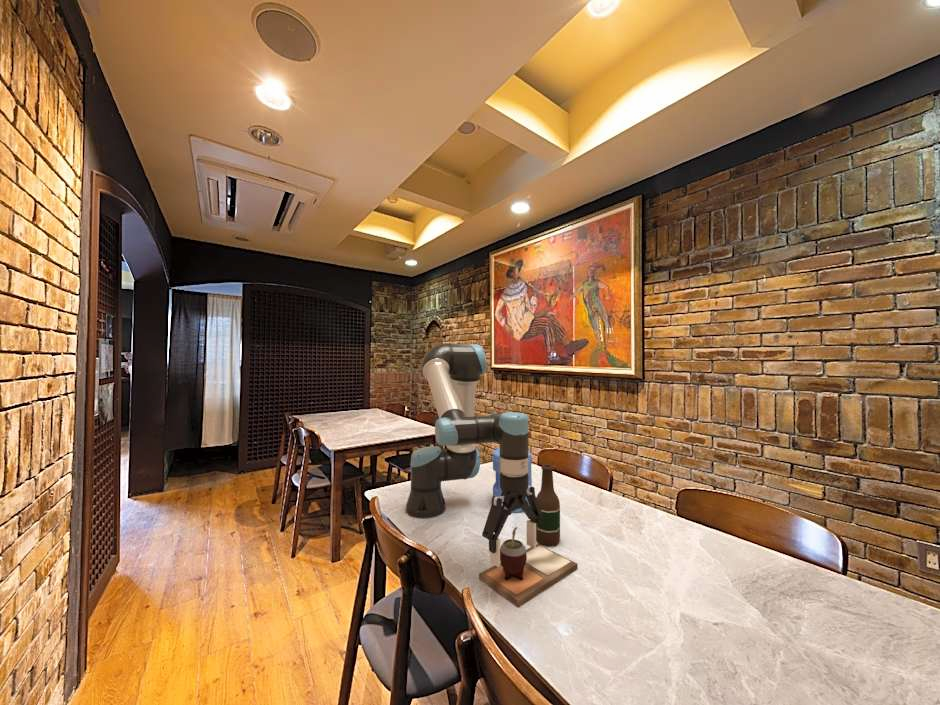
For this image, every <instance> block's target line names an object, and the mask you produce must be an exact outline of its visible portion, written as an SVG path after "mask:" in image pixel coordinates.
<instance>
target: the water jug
mask: <svg viewBox="0 0 940 705" xmlns="http://www.w3.org/2000/svg"><path fill="white" fill-rule="evenodd" d="M491 459H492V462H491V463H492V470H493V471H494V472H495V483H494V484H493V485H492V497H493V496H496V497H500V496H501V494H502V490H501V488H500V473H501V472H500V447H499V448H497V449H495V450H493V451H492V458H491ZM532 460H533V458H532V453H531V451H530V450H528V473H527V474H528V476H529V486H532V485H533V480H532V464H533V463H532V462H533V461H532ZM525 499H526V501H527V502H528V500H527V497H526V498H525ZM528 503H529V502H528ZM529 506H530V505H529ZM504 509H506V507H504ZM506 510H508V509H506ZM522 512H524V511H523V510H522V509H521V508H520V509H516V510H515V511H512V513H522Z"/></svg>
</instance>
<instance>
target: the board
mask: <svg viewBox="0 0 940 705" xmlns="http://www.w3.org/2000/svg"><path fill="white" fill-rule="evenodd" d="M525 549H526V555H527V560H526V564H525V566H524V570H523V574H522V577H523V580H522V581H521V580H519V579H517V578H516V577H511V578H510V579H508V580H505V579H504V577H506V576H505V571H503V567H502V565H501V562H500V566H499V567H497V566H495V565H493V566H491V567H489V568H487V569H485V570H483V571H480V572H479V573H478V579H479V580H480V581H481V582H482V583H483V584H485V585H486V586H488V587H489V588H491V589H492V590H494V592H496V593H498V594H499V595H500V596H501V597H503V598H505V599H506V600H508V601H509V602H511V604H513V605H514V606H516V607H517V608H520V607H521V606H523V605H524V604H526V603H527V602H529V601H530V600H532V599H534V598H535V597H537V596H539V594H541V593H543V592H544V591H547V590H548V589H549V588H551V587H552V586H554V585H556V584H557V583H559V582H560V581H562V580H563V579H565V578H566V577H568V576H569V575H571V574H572V573H574V572H576V571H577V570H578V563H577V562H575V561H573V560H571V559H570V558H567V557H565V556H564V555H561V554H559V553H557V552H555V551H553V550H551V549H549V548H548V547H546V546H543V545H540V544H539V543H536V548H532V547H530V546H529V548H525Z"/></svg>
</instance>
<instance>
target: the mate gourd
mask: <svg viewBox="0 0 940 705" xmlns="http://www.w3.org/2000/svg"><path fill="white" fill-rule="evenodd" d="M517 529H518V526H515V528H513V530H512V537H511V539H506V540H505V541H503V543H502V544H500V563H501V565H502V567H503V571H505V576H506V577H504V579H505V580H508V579H510V578H511V577H516V578H517V579H519V580H521V581H522V580H523V577H522V574H523V570H524V566H525V564H526V560H527V555H526V549H527V548H526V547H525V544H524V543H523V542H522V541H520V540H519V539H515V537H516V533H517Z"/></svg>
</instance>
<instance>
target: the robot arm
mask: <svg viewBox="0 0 940 705" xmlns="http://www.w3.org/2000/svg"><path fill="white" fill-rule="evenodd" d="M487 363H488V362H487V356H486V353H485V350H484V348H483V347H482V345H480V344H475V343H439V344H437V345H434V346H432V347H431V348H430V349H428V350H427V352H426V353H425V354H424V356H423V358H422V361H421V372H422V376H423V377H424V379H425V380H427V382H428V385H429V389H430V392H431V396H432V399H433V402H434V403H433V404H434V406H435V409H436V412H437V416H438V419H436V420H435V424H434V435H435V440H436V443H437V444H438V445H439V446H436V445H434V446H433V445H430V446H424V447H420V448H418V449H415V450H414V451H413V452H412V453H411V455H410V456H411V457H410V464H409V465H410V492H409V495H408V498H407V502H406V504H405V512H406V514H407V515H408V516H411V517H413V518H418V519H427V518H429V519H430V518H433V517H438V516H440V515H442V514H444V513H445V512H446V508H447V506H446V501H445V497H444V494H443V491H442V482H448V481H458V480H467V479H473V478H475V477H476V476H477V475H478V473H479V471H480V468H481V453H480V451H479V449H478V448H477V446H476V445H477V444H488V443H489V444H490V443H491V444H492V443H497V444H499V448H500V472H501V473H500V488H501V490H502V494H501V496H500V497H496V496H493V495H492V497H491V503H490V504H491V506H490V507H489V512H488V515H487V518H486V521H485V524H484V527H483V530H482V534H481V536H482V537H483V538H485V539H486V540H488V552H490V553H489V554H490V555H489V556H490V557H489V558H490V561H489V562H490V564H492V565H493V566H497V567H499V566H500V563H501V562H500V547H501V539H500V538H499V536H500V535H501V532H502V530H503V528H504V525H505V523H506V521H507V520H508V517H509V516H510V515H512V513H513V512H512V511H515V510H516V509H520V508H521V509H522V510H523V511H522V512H523V513H524V514H525V515H526V517H527V520H526V545H527V546H529V548H530V547H532V548H536V544H537V540H536V533H537V523H540V521H541V520H540V519H539V518H542V512H541V509H540V507H539V504H538V501H537V498H536V497H537V495H536V491H535V487H534V486H532V485H531V486H529V476H528V474H527V473H528V451H529V440H530V439H529V436H530V435H529V433H530V427H529V417H528V415H527V414H526V413H523V412H518V411H517V412H516V411H515V412H514V411H507V412H502V413H501V414H500V413H489V414H487V415H481V416H479V415H478V416H475V408H476V407H475V405H476V404H475V403H476V393H477V392H476V390H477V383H479V382H480V381H481V376H483V375H485V374H486V372H487V369H488V368H487V366H488V364H487ZM440 446H442V447H446V449H442V448H441V447H440ZM526 497H527V500H528V502H529V503H528V502H527V501H526V499H525V498H526ZM529 505H530V506H529ZM504 507H506V509H508V510H506V509H504Z"/></svg>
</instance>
